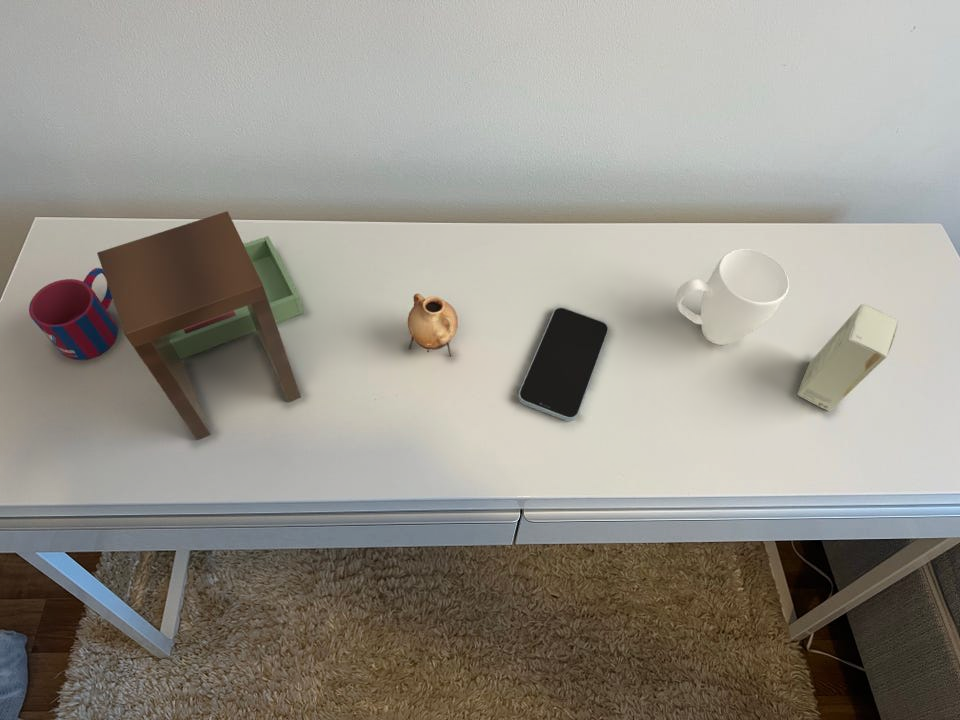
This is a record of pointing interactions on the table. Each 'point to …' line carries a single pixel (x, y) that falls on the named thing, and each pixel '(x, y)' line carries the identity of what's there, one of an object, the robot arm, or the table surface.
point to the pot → (432, 323)
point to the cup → (75, 317)
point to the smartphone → (563, 364)
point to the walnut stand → (189, 301)
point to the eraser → (209, 322)
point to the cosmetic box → (848, 357)
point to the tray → (278, 294)
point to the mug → (737, 295)
